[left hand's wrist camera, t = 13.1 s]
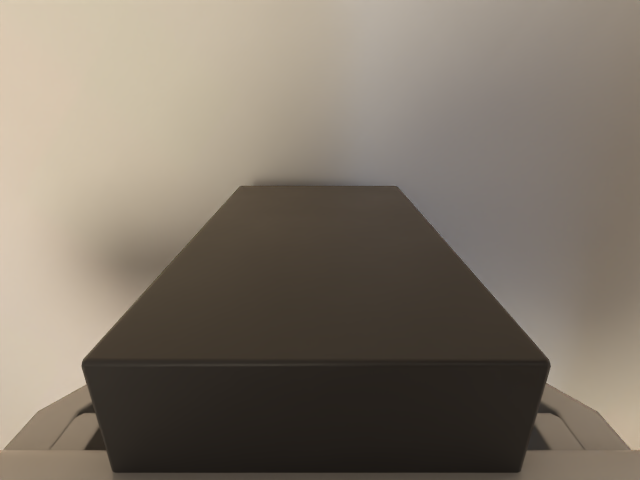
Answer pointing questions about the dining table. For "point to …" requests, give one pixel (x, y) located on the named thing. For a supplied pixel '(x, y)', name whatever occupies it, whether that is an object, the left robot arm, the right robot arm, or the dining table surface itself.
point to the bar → (316, 348)
